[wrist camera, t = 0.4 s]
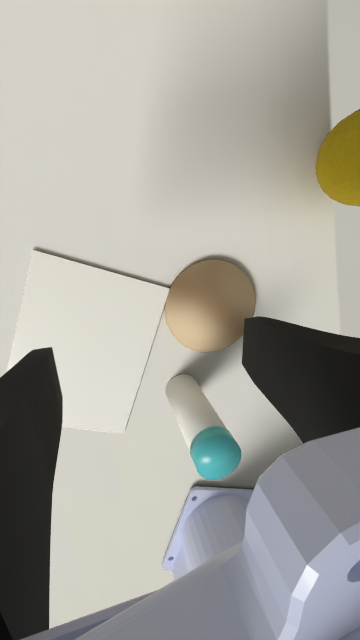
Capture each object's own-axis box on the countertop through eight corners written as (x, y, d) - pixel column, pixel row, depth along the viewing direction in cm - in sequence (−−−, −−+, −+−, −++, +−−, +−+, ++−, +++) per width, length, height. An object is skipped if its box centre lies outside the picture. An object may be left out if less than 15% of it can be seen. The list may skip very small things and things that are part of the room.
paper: (123, 432, 25) (123, 433, 24) (-4, 418, 22) (-4, 419, 21) (169, 288, 22) (169, 288, 22) (32, 249, 19) (32, 249, 19)
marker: (191, 405, 26) (231, 481, 18) (160, 401, 25) (189, 478, 17) (201, 376, 25) (247, 442, 18) (170, 370, 24) (205, 437, 17)
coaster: (234, 357, 25) (236, 359, 25) (152, 339, 23) (153, 341, 23) (265, 274, 24) (268, 275, 23) (182, 246, 21) (183, 247, 21)
